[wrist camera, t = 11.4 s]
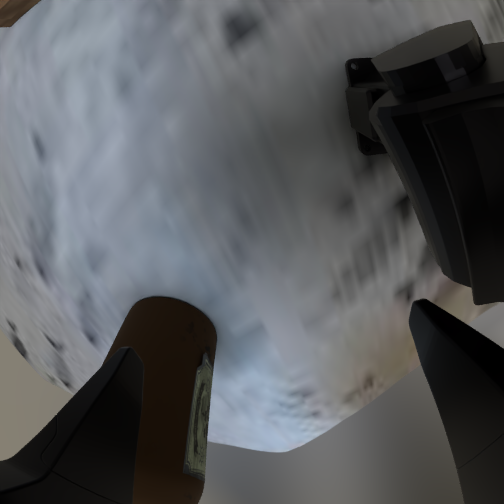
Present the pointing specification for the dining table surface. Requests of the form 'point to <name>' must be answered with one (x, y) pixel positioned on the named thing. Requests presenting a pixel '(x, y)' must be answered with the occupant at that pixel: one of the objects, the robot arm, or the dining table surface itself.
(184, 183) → the dining table surface
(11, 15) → the pocket rack
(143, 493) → the olive oil
